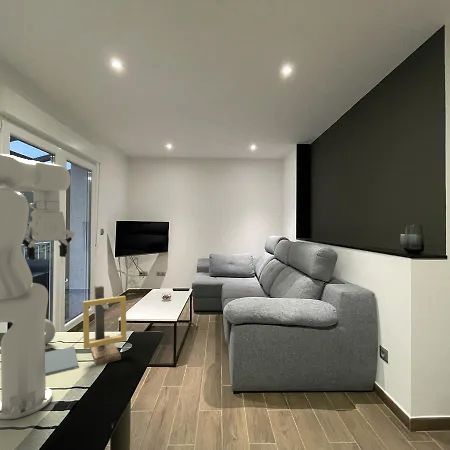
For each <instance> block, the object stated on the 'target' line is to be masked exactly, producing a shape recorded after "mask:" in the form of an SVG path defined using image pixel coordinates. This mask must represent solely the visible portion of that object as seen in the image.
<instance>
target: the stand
mask: <svg viewBox="0 0 450 450" xmlns="http://www.w3.org/2000/svg"><path fill="white" fill-rule="evenodd" d="M93 288H94V290H93V291H94V300H96V299H104V298H105V287H104V286H103V285H97V286H94V287H93ZM109 308H110V306H109V305H108V304H101V305H94V337H93V338H89V342H91V341H96V340H101V339H106V338H111V336H110V335H105V310H106V311H108V310H109ZM89 350H90V353H91V356H92V359H93V362H94V364H95V366H99V365H104V364H109V363H112V362H116V361H120V360H122V354H121V353H120V351H119V350H118V348H117V346H116V344H115V343H111V344H106V345H102V346H97V347H92V348H89Z"/></svg>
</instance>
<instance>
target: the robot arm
mask: <svg viewBox="0 0 450 450" xmlns="http://www.w3.org/2000/svg"><path fill="white" fill-rule="evenodd" d="M71 180H72V178H71V174H70V172H69V170H68V168H66V166H63V165H60V164H59V165H58V164H53V163H47V162H40V161H36V160H30V159H29V160H28V159H25V158H21V157H17V156H15V155H10V154H6V153H5V154H4V153H0V323H11V324H12V325H11V326H10V328H8V330H7V331H6V332H5V333H4V334H3V336H2V338H1V339H0V340H1V341H0V371H1V372H0V373H1V374H0V376H1V377H0V378H1V379H0V380H1V387H0V389H1V399H0V420H13V419H14V420H15V419H19V418H24V417H26V416H29V415H31V414H34V413H36V412H39V411H40V410H41V409H43V408H44V407H46V406H47V405H48V404H50V402H51V400H53V390H52V389H51V388H49V387H47V385H46V384H47V383H46V375H45V352H46V344H45V319H46V317H47V316H46V315H47V310H48V309H47V308H48V302H49V291H48V289H47V288H46V287H45V285H43V284H41V283H36V282H33V279H34V278H33V275H32V271H31V269H30V266H29V264H28V262H27V260H26V257H27V258H28V260H31V261H34V260H35V259H36V257H35V256H36V255H35V254H36V253H35V252H36V251H35V249H36V248H35V247H34V246H35V245H36V243H37V242H52V241H53V242H54V241H58V242H59V243H60V244H59V257H61V258H65V257H67V253H68V252H67V250H68V248H67V246H68V245H69V243H70V242H71V241H72V239H73V238H74V236H75V232H74V231H71V230H70V229H67V228H66V223H65V216H64V213H63V211H61V210H60V209H61V208H60V207H61V206H60V205H61V204H60V200H61V199H60V191H61V192H62V191H67V190H68V189H69V187H70V185H71ZM21 192H23V193H24V192H26V193H27V192H29V193H31V192H33V201H32V202H31V203H29V202H28V199H27V198H26V196H25V195H24V194H23V193H21ZM30 208H32V209H33V211H31V213H30V215H29V212H30ZM29 216H30V217H29ZM28 222H29V223H28ZM28 224H29V226H28ZM27 227H28V228H27ZM27 235H28V238H29V240H27V239H26V238H25V237H26V236H27ZM22 245H23V246H24V247H26V257H25V256H24V252H23V249H22V247H23V246H22Z"/></svg>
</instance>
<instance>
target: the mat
mask: <svg viewBox="0 0 450 450" xmlns="http://www.w3.org/2000/svg"><path fill="white" fill-rule="evenodd" d="M77 368H79V362H78V357H77V353H76V348H75V346H69V347H65V348H59V349H55V350H50V351H45V376H46V375H51V374H56V373H60V372H64V371H68V370H72V369H77Z"/></svg>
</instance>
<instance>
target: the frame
mask: <svg viewBox="0 0 450 450" xmlns="http://www.w3.org/2000/svg"><path fill="white" fill-rule="evenodd" d="M113 303H120V306H119V307H120V335H117V336H110V338H106V339H101V340H96V341H91V342H89V339H90V311H89V310H90V307H93V306H94V307H95V305H101V304H107V305H108V304H113ZM82 317H83V318H82V320H83V323H82V324H83V349H84V350H87V349H90V348H92V347H97V346H102V345H106V344H111V343H114V344H115V343H120V342H124V341H127V297H126V295H121V296H113V297H104V299H96V300H95V299H91V300H82Z"/></svg>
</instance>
